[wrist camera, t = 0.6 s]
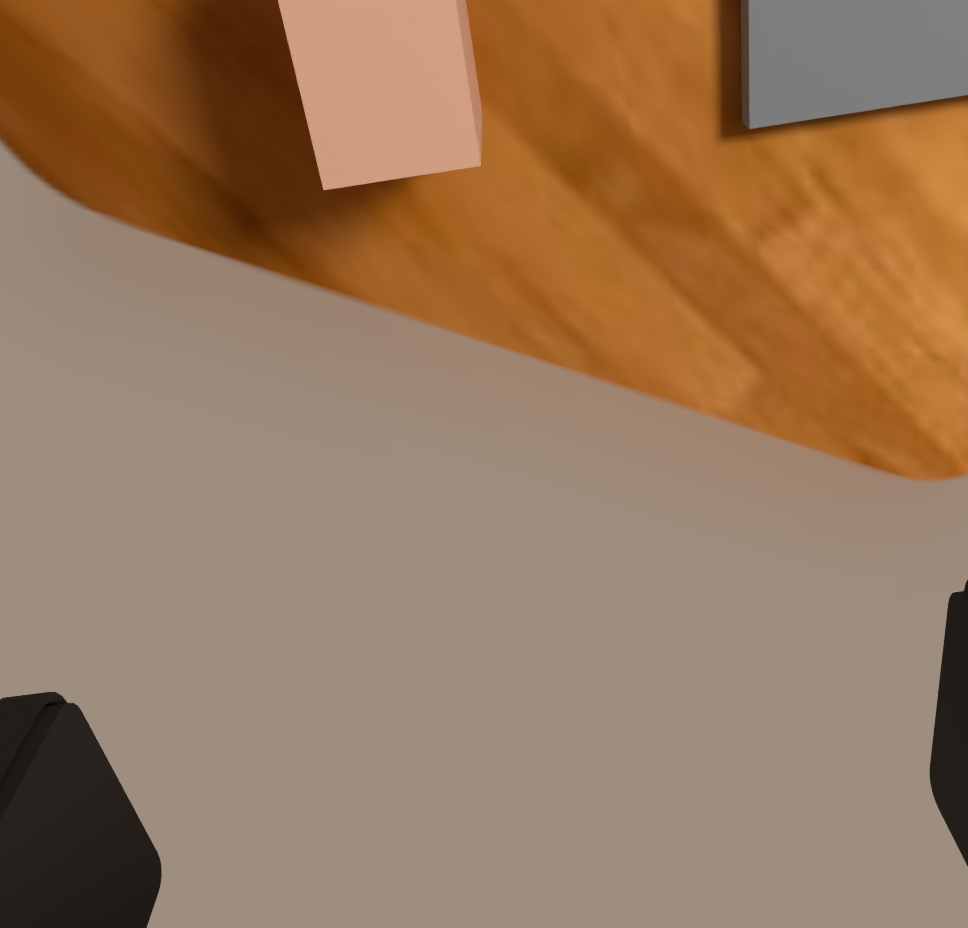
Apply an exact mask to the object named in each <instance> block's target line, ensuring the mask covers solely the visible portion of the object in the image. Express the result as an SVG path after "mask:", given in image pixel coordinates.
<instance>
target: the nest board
mask: <svg viewBox="0 0 968 928" xmlns="http://www.w3.org/2000/svg"><path fill="white" fill-rule="evenodd" d="M964 95H968V0H741V96H742V123H743V124H744V125H745V126H746V127H748V128H749V129H753V128H759V127H766V126H772V125H779V124H785V123H791V122H798V121H804V120H811V119H817V118H823V117H830V116H836V115H843V114H849V113H855V112H862V111H868V110H875V109H881V108H887V107H894V106H900V105H907V104H913V103H919V102H926V101H932V100H939V99H945V98H952V97H958V96H964Z"/></svg>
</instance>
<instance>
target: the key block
mask: <svg viewBox="0 0 968 928" xmlns="http://www.w3.org/2000/svg"><path fill="white" fill-rule="evenodd" d="M278 3H279V7H280V11H281V15H282V19H283V23H284V28H285V32H286V36H287V40H288V44H289V48H290V53H291V57H292V61H293V65H294V69H295V73H296V78H297V82H298V86H299V90H300V94H301V98H302V103H303V107H304V111H305V115H306V119H307V123H308V128H309V132H310V136H311V140H312V144H313V148H314V153H315V157H316V161H317V165H318V169H319V173H320V178H321V182H322V186H323V190H329V189H335V188H342V187H348V186H355V185H361V184H367V183H374V182H380V181H387V180H393V179H399V178H406V177H412V176H418V175H425V174H431V173H438V172H444V171H450V170H457V169H463V168H470V167H476V166H481V139H482V109H481V102H480V95H479V88H478V81H477V75H476V68H475V61H474V54H473V47H472V40H471V34H470V27H469V20H468V13H467V6H466V0H278Z"/></svg>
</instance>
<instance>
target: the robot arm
mask: <svg viewBox="0 0 968 928" xmlns="http://www.w3.org/2000/svg"><path fill="white" fill-rule="evenodd" d="M930 782H931V787H932V792H933V795H934V798H935V801H936V804H937V806H938V808H939V810H940V812H941V814H942V816H943V818H944V820H945V822H946V824H947V826H948V828H949V830H950V832H951V834H952V836H953V838H954V840H955V842H956V844H957V846H958V848H959V850H960V852H961V854H962V856H963V858H964V860H965V861H966V864H967V866H968V580H967V582H966V585H965V589H964V591H962V592H955V593H952V595H951V596H950V599H949V603H948V611H947V620H946V629H945V639H944V646H943V656H942V664H941V673H940V682H939V691H938V701H937V709H936V718H935V727H934V736H933V745H932V754H931V762H930ZM160 883H161V862H160V858H159V856H158V853H157V851H156V849H155V847H154V845H153V843H152V842H151V840H150V838H149V836H148V834H147V832H146V831H145V828H144V827H143V825H142V823H141V821H140V819H139V818H138V815H137V814H136V812H135V810H134V808H133V806H132V804H131V802H130V800H129V799H128V797H127V795H126V793H125V791H124V789H123V787H122V786H121V784H120V782H119V780H118V778H117V776H116V774H115V773H114V771H113V769H112V767H111V765H110V763H109V761H108V759H107V758H106V756H105V754H104V752H103V750H102V748H101V746H100V745H99V743H98V741H97V739H96V737H95V735H94V733H93V732H92V730H91V728H90V726H89V724H88V722H87V720H86V719H85V717H84V715H83V713H82V711H81V710H80V708H79V707H78V706H77V705H75V704H74V703H67V702H66V701H65V699H64V698H63V697H62V696H61V695H59V694H58V693H56V692H46V693H39V694H31V695H22V696H14V697H6V698H2V699H0V928H147V924H148V922H149V919H150V916H151V913H152V910H153V907H154V904H155V901H156V898H157V895H158V892H159V888H160Z"/></svg>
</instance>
